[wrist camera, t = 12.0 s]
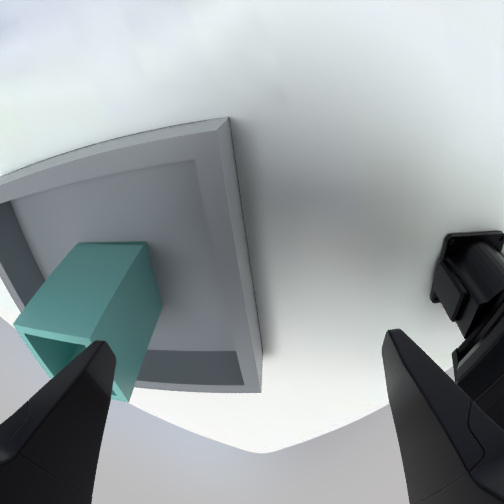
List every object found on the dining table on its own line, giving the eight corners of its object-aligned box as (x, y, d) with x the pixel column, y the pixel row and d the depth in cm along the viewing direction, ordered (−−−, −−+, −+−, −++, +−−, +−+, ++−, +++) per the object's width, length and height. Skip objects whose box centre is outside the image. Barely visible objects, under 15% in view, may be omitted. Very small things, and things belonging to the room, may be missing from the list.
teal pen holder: (145, 241, 20) (89, 338, 13) (163, 306, 24) (128, 402, 16) (77, 242, 21) (13, 324, 13) (100, 302, 24) (56, 385, 16)
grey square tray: (228, 116, 16) (216, 130, 13) (262, 351, 27) (261, 392, 23) (0, 176, 18) (-34, 199, 15) (82, 345, 29) (66, 376, 25)
